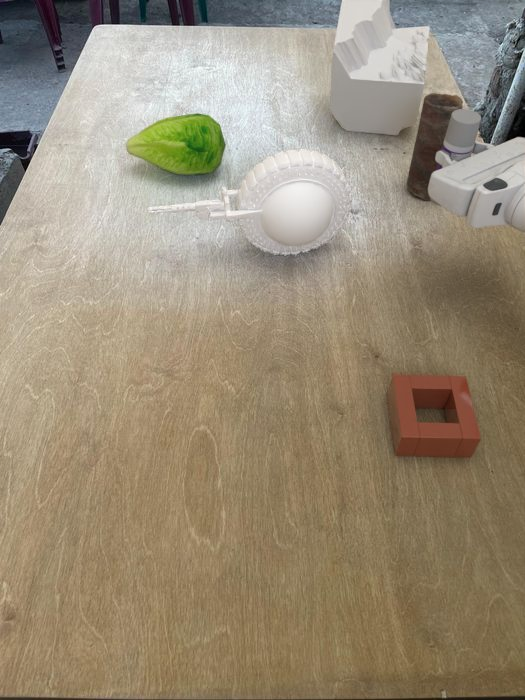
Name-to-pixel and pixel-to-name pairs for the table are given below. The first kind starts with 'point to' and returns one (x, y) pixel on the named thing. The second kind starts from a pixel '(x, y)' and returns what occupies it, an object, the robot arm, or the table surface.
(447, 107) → the rusty brown cylinder
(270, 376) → the table surface
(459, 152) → the container
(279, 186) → the tracked sphere vehicle
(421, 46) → the white carved sculpture block
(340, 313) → the table surface
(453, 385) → the holder
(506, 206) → the robot arm
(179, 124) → the lettuce
